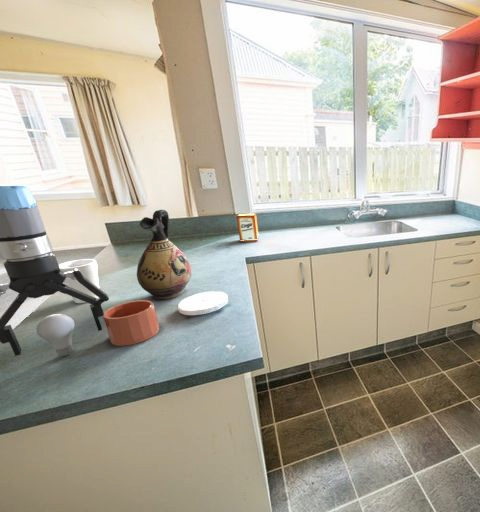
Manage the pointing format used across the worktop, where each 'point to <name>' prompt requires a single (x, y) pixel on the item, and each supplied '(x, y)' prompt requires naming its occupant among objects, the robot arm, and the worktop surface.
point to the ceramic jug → (162, 261)
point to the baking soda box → (247, 227)
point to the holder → (131, 322)
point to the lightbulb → (57, 332)
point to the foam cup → (87, 270)
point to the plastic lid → (202, 303)
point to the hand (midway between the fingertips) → (62, 340)
